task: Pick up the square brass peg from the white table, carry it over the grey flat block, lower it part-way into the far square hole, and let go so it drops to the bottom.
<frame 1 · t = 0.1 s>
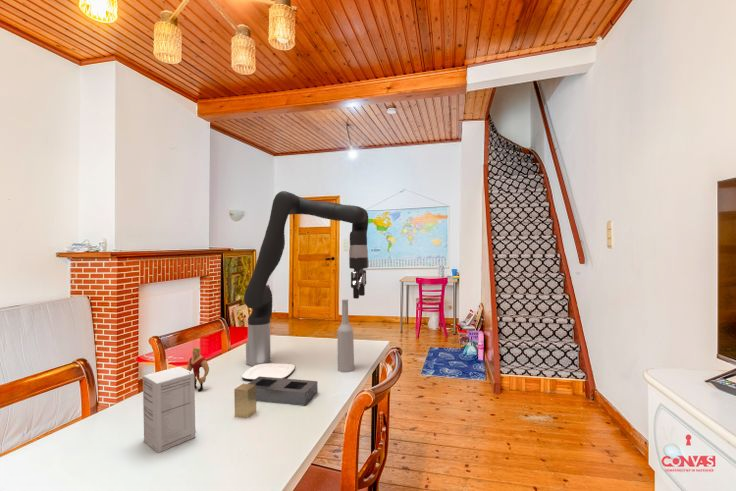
hand: (359, 297, 143), 29 cm above the table, tool pointing down, fingers open, 8 cm apart
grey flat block: (280, 396, 118), on the table
plate: (269, 375, 140), on the table
brass peg: (245, 414, 106), on the table
bottle: (345, 369, 144), on the table
action figure: (196, 390, 125), on the table
supplement box: (169, 440, 92), on the table
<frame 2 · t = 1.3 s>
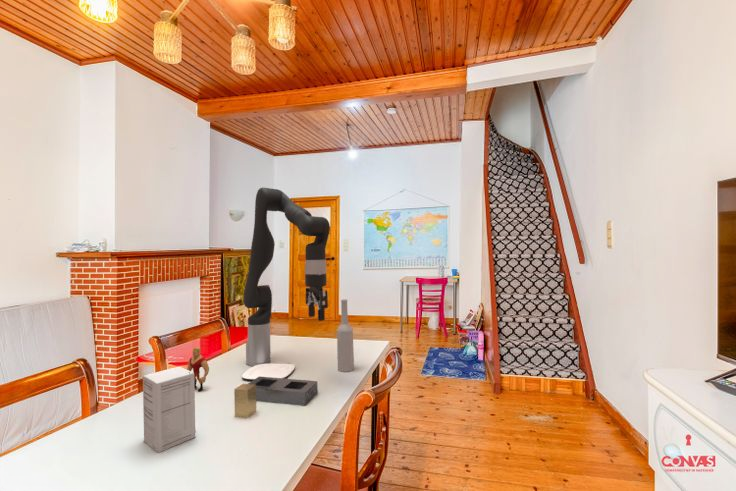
hand: (316, 318, 126), 24 cm above the table, tool pointing down, fingers open, 8 cm apart
nothing on the table moved.
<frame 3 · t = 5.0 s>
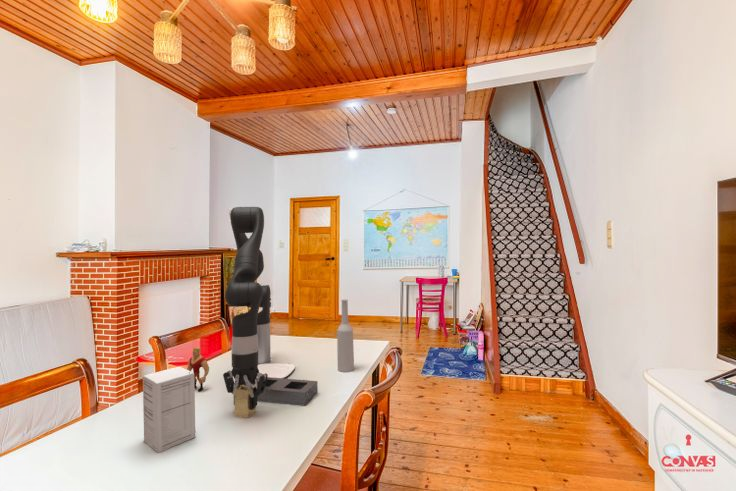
hand: (245, 407, 106), 2 cm above the table, tool pointing down, fingers closed on brass peg, 4 cm apart
brass peg: (245, 413, 106), on the table, touching gripper
everything else where it was.
when the fingers open (4 cm above the table, at t = 11.0 s): brass peg drops 2 cm, resting in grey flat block.
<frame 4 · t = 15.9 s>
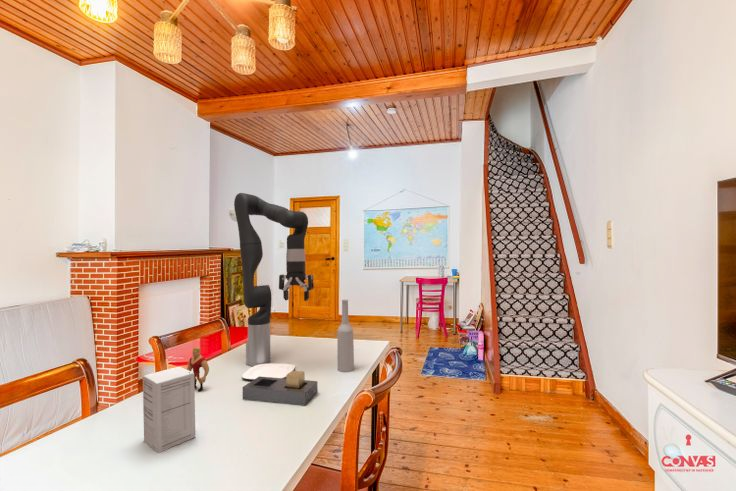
hand: (296, 300, 144), 28 cm above the table, tool pointing down, fingers open, 8 cm apart
brass peg: (295, 397, 117), resting in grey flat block
everything else where it was.
at the end: brass peg 0.1 cm from the target spot on the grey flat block, point 0.0 cm above the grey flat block's base; brass peg tilted 0°; the gripper is holding nothing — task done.
